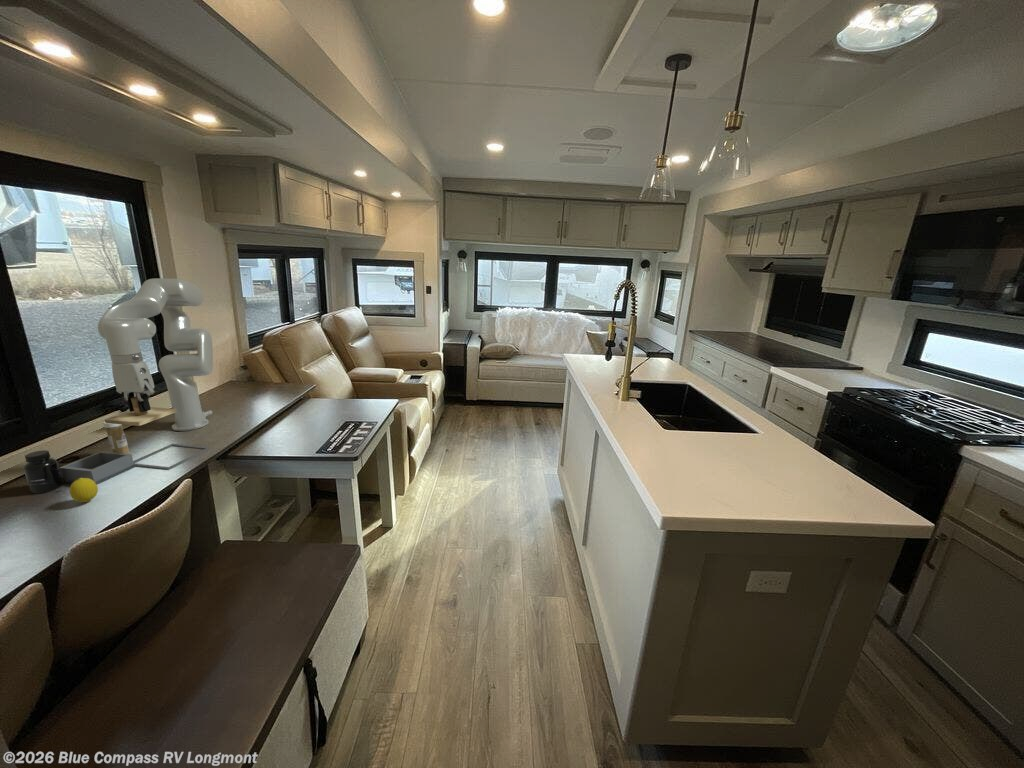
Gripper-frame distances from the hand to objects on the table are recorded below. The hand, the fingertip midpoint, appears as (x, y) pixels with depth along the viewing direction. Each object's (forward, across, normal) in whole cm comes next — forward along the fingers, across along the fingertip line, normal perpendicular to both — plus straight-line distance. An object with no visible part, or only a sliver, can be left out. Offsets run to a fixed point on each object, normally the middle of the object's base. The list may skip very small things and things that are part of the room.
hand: (140, 410), depth 137 cm
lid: (+3, 0, 0) cm, 3 cm away
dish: (+20, +8, +10) cm, 24 cm away
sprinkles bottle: (+20, +16, -3) cm, 25 cm away
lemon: (+20, -5, +25) cm, 32 cm away
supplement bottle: (+20, +15, +20) cm, 32 cm away
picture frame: (+19, -3, -4) cm, 20 cm away
